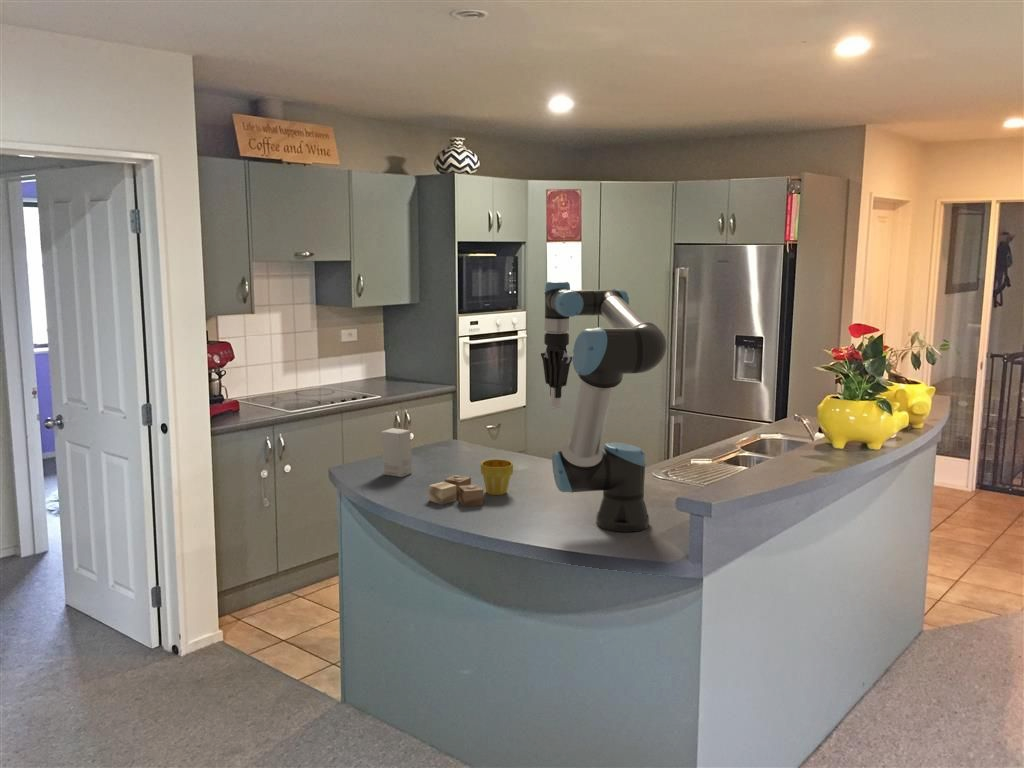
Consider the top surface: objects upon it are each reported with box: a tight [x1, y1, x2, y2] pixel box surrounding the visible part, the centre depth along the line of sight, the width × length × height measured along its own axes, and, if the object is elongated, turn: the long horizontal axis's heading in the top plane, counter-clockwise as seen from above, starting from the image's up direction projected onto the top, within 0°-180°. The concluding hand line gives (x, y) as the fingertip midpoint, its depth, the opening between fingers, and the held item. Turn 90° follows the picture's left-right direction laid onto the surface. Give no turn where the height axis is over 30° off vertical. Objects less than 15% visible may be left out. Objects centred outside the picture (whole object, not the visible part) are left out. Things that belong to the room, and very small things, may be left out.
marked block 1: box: [444, 474, 472, 497], centre depth 277 cm, size 6×6×5 cm
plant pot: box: [480, 458, 514, 496], centre depth 277 cm, size 10×10×10 cm
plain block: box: [428, 481, 457, 505], centre depth 269 cm, size 6×6×5 cm
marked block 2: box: [458, 483, 484, 508], centre depth 266 cm, size 6×6×5 cm
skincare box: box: [380, 427, 413, 478], centre depth 297 cm, size 8×7×16 cm
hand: (555, 407), depth 267 cm, fingers closed
